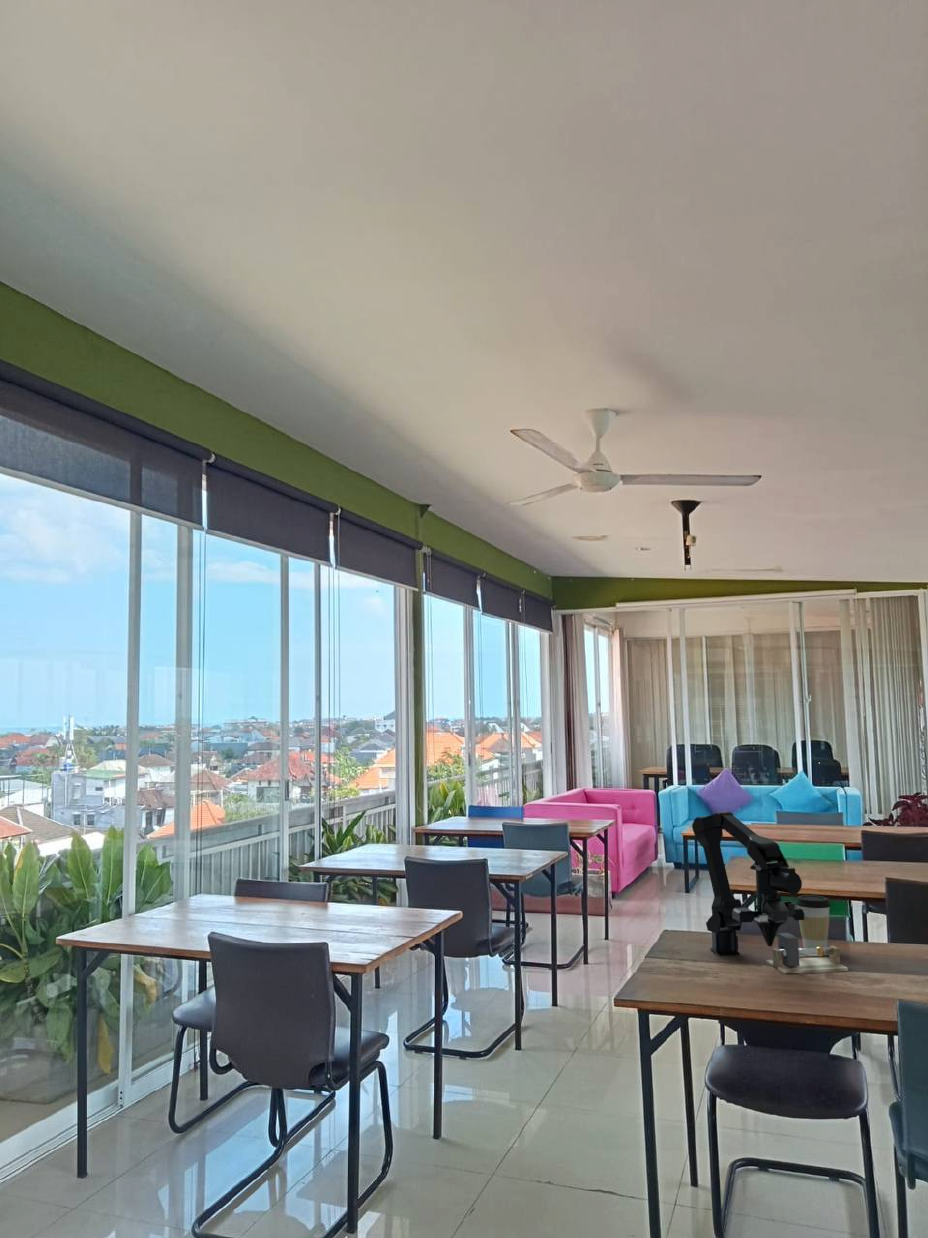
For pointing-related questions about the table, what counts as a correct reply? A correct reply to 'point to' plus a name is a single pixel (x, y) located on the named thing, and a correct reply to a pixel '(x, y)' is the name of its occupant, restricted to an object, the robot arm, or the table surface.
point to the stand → (809, 963)
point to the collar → (789, 948)
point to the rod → (811, 951)
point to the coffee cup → (814, 920)
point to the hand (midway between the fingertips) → (769, 946)
